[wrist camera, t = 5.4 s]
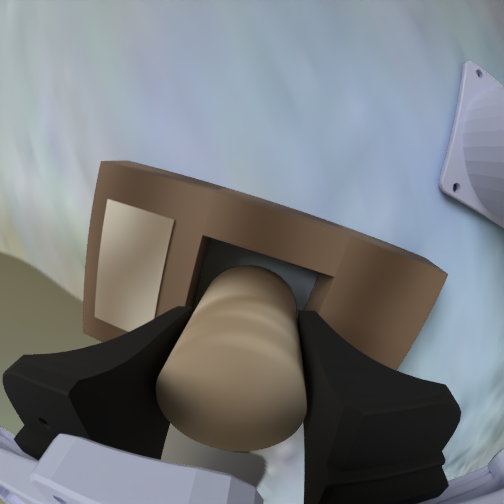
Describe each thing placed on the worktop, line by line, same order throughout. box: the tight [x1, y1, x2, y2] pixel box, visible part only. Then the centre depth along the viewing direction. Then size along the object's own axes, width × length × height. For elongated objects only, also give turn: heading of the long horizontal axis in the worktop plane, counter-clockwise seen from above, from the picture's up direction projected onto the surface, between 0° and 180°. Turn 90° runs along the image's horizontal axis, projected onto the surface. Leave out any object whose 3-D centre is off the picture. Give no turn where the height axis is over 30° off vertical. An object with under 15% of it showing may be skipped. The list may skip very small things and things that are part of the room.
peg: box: [156, 265, 307, 451], centre depth 10 cm, size 4×4×6 cm
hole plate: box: [83, 161, 448, 370], centre depth 14 cm, size 16×9×3 cm, turn 73°
